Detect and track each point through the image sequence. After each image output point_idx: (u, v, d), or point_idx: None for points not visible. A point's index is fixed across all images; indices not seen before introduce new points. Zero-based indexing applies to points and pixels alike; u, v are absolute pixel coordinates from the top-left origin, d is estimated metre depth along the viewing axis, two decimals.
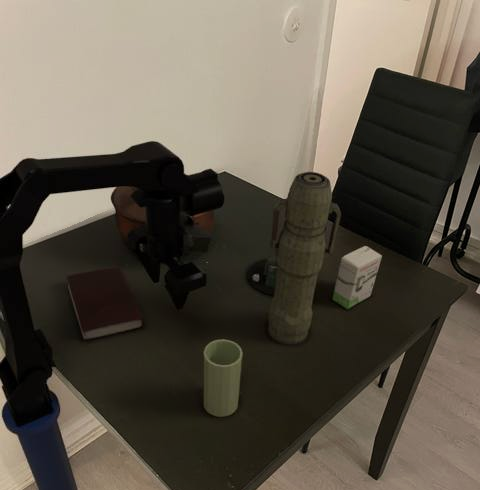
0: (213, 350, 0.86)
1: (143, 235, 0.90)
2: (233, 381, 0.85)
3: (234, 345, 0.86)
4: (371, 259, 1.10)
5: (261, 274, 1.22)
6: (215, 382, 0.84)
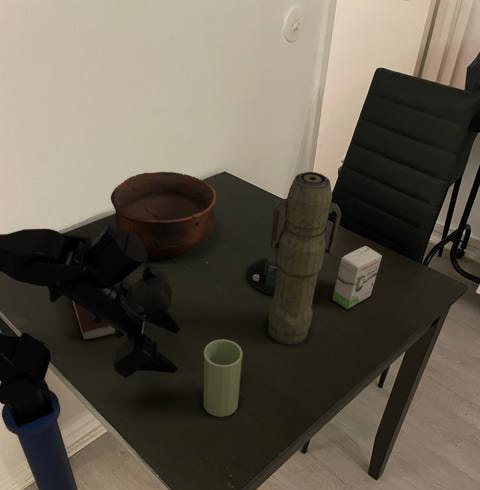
0: (213, 350, 0.86)
1: None
2: (233, 381, 0.85)
3: (234, 345, 0.86)
4: (371, 259, 1.10)
5: (261, 274, 1.22)
6: (215, 382, 0.84)
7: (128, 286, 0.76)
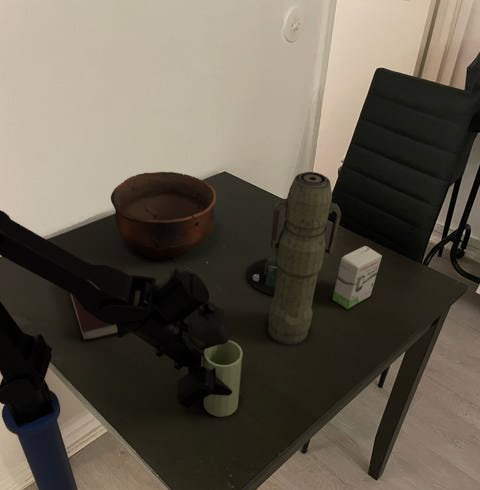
0: (213, 350, 0.86)
1: None
2: (233, 381, 0.85)
3: (234, 345, 0.86)
4: (371, 259, 1.10)
5: (261, 274, 1.22)
6: None
7: (188, 321, 0.81)
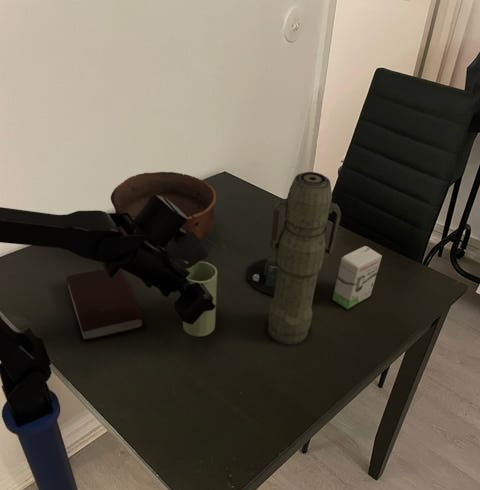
0: None
1: None
2: (214, 295, 0.92)
3: (204, 264, 0.93)
4: (371, 259, 1.10)
5: (261, 274, 1.22)
6: None
7: (164, 249, 0.86)
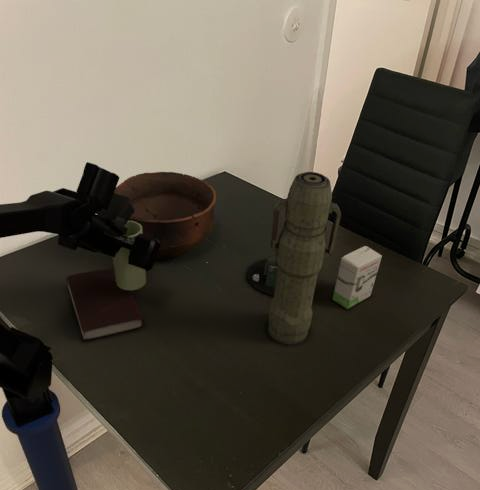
0: None
1: None
2: None
3: None
4: (371, 259, 1.10)
5: (261, 274, 1.22)
6: None
7: (96, 215, 0.93)
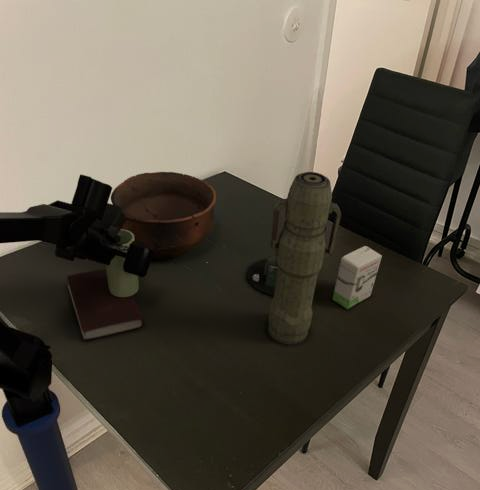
0: None
1: None
2: None
3: None
4: (371, 259, 1.10)
5: (261, 274, 1.22)
6: None
7: None
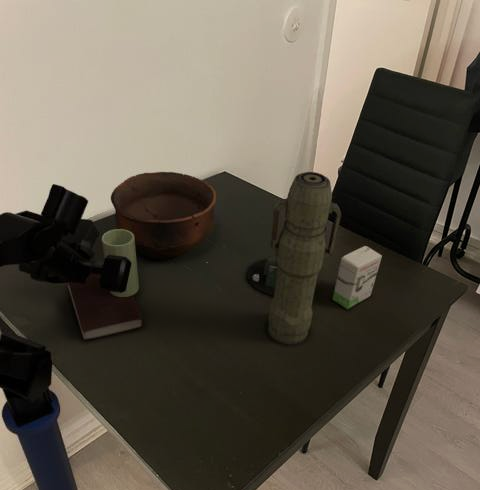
0: None
1: (44, 268, 0.91)
2: (135, 252, 1.05)
3: (114, 231, 1.04)
4: (371, 259, 1.10)
5: (261, 274, 1.22)
6: None
7: None
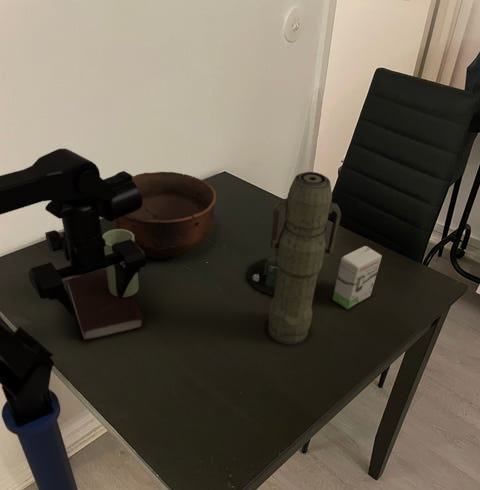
0: None
1: (55, 273, 0.81)
2: None
3: (114, 231, 1.04)
4: (371, 259, 1.10)
5: (261, 274, 1.22)
6: None
7: None
